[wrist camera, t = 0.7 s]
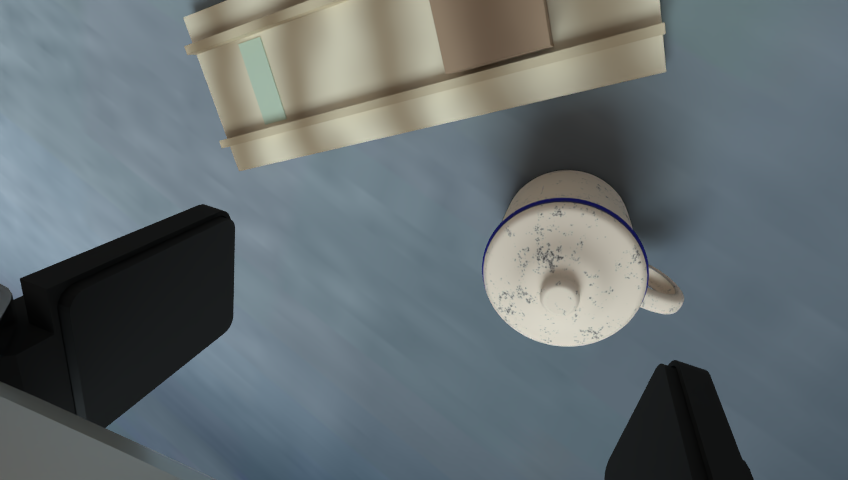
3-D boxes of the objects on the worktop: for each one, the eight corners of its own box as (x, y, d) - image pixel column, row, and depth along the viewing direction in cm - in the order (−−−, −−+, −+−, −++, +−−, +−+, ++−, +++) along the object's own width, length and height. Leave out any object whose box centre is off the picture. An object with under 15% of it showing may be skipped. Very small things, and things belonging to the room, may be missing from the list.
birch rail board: (640, -155, 26) (646, -175, 24) (662, 71, 29) (669, 72, 27) (197, 18, 37) (173, 16, 35) (250, 167, 41) (231, 173, 38)
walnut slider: (537, -62, 27) (530, -80, 24) (553, 46, 29) (550, 45, 25) (439, -28, 29) (420, -39, 26) (460, 71, 31) (445, 74, 28)
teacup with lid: (485, 255, 37) (449, 333, 27) (529, 146, 33) (507, 188, 23) (635, 317, 35) (659, 426, 25) (700, 209, 31) (761, 285, 21)
